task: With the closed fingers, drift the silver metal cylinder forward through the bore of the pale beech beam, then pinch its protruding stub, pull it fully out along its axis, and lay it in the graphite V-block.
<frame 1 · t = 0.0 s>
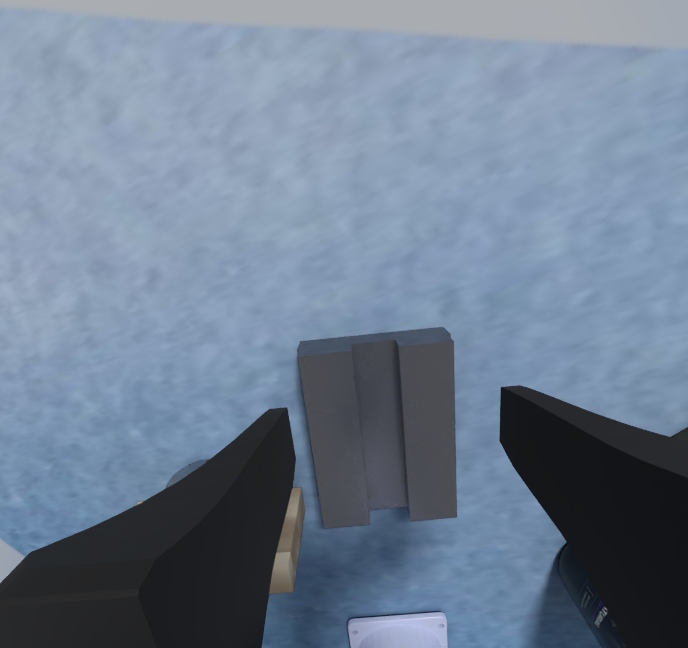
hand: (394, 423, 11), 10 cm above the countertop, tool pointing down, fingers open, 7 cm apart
supplement bottle: (596, 555, 26), on the countertop
silver metal cylinder: (223, 504, 25), on the countertop
v block: (378, 418, 22), on the countertop
beam: (222, 505, 24), on the countertop
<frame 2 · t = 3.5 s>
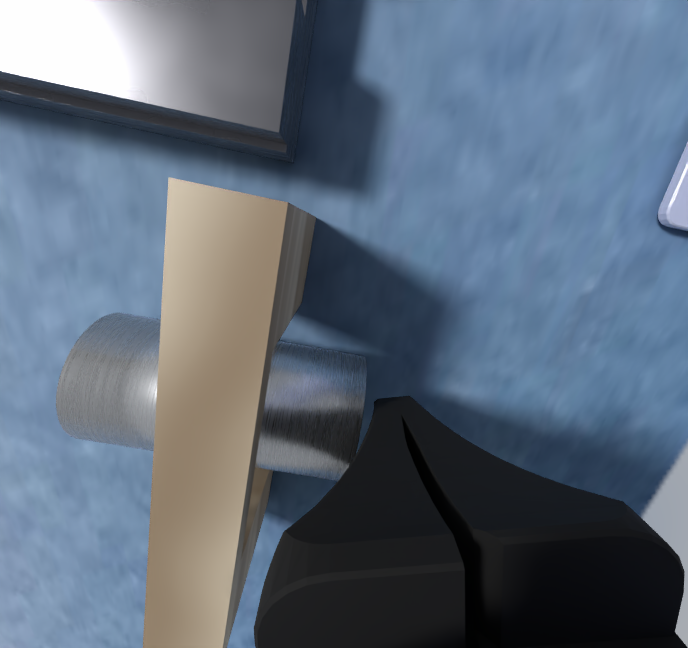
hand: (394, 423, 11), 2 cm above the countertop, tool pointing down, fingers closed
silver metal cylinder: (250, 369, 13), on the countertop, touching gripper
beam: (263, 372, 13), on the countertop
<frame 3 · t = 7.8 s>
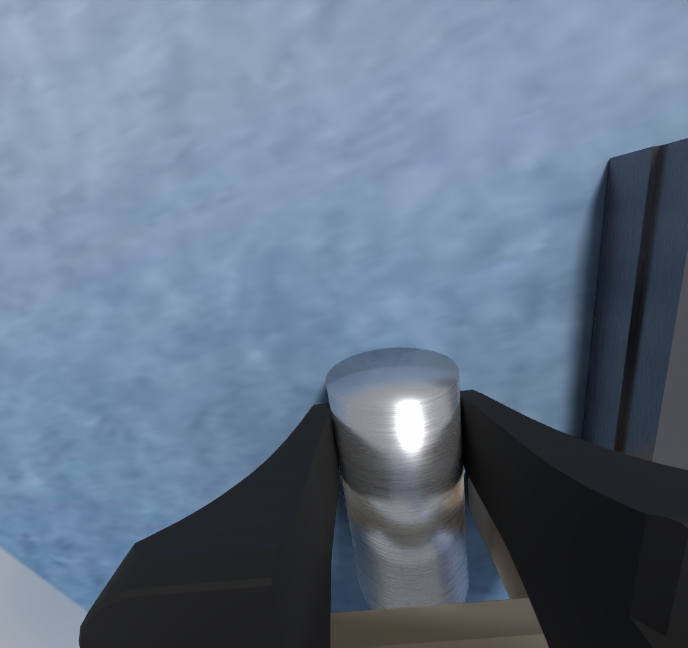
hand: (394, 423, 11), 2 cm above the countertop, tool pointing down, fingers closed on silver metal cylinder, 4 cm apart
silver metal cylinder: (389, 443, 13), on the countertop, touching gripper
beam: (395, 493, 14), on the countertop
when the fingers open (5 cm above the countertop, at t = 12.8 s): silver metal cylinder stays where it is, resting on v block.
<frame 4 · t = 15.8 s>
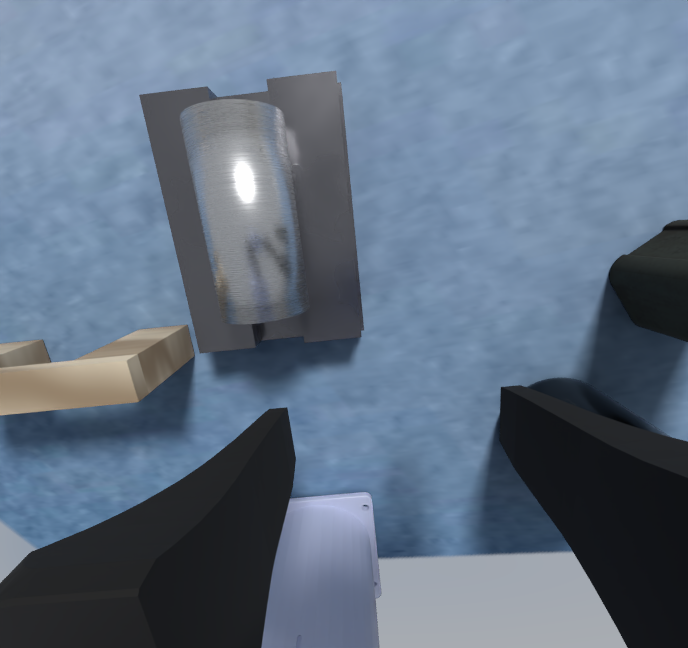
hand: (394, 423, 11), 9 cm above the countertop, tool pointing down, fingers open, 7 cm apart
supplement bottle: (546, 420, 22), on the countertop
candle: (658, 275, 19), on the countertop
silver metal cylinder: (256, 224, 16), point 2 cm above the countertop, tilted 8°, touching v block
v block: (272, 227, 18), on the countertop
beam: (95, 350, 20), on the countertop
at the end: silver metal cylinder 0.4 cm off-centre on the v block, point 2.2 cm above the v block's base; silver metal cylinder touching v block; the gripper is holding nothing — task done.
